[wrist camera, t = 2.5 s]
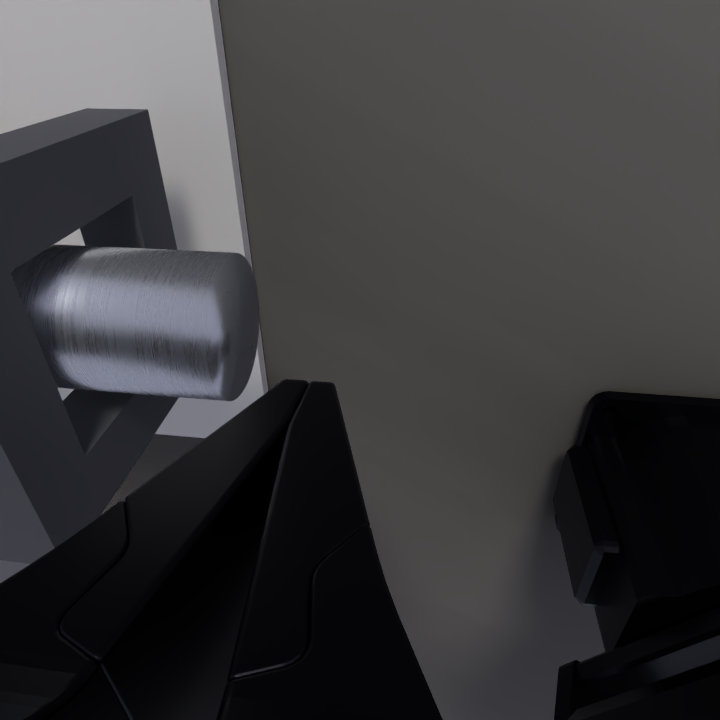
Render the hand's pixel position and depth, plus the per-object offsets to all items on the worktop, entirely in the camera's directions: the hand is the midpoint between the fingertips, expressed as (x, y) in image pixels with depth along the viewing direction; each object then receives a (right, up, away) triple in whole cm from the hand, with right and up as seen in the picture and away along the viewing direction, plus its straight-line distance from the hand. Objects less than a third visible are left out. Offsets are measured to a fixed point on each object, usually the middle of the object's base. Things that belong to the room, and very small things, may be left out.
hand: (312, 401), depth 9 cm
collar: (-5, +4, +5) cm, 8 cm away
